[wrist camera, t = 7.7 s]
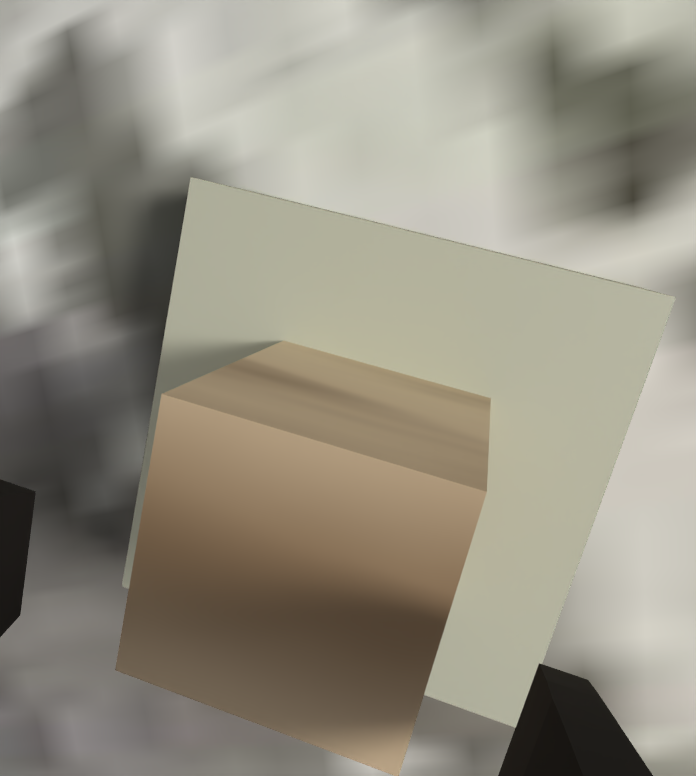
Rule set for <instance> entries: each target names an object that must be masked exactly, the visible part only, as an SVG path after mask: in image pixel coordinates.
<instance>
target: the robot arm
mask: <svg viewBox="0 0 696 776" xmlns="http://www.w3.org/2000/svg"><path fill="white" fill-rule="evenodd" d="M34 500H35V491H32V490H29V489H27V488H24V487H21V486H18V485H15V484H12V483H9V482H6V481H3V480H0V637H1V636H2V635H3V633H4V632H5V631H6V630H7V629H8V628H9V627H10V626H11V625H12V624H13V623H14V621H15V620H16V619H17V618H18V617H19V616H20V612H21V604H22V596H23V588H24V580H25V572H26V564H27V556H28V548H29V540H30V532H31V524H32V516H33V508H34ZM498 776H653V775H652V773H651V772H650V771H649V769H648V768H647V766H646V765H645V763H644V762H643V760H642V759H641V757H640V756H639V754H638V753H637V751H636V750H635V748H634V747H633V745H632V744H631V742H630V741H629V739H628V738H627V736H626V735H625V733H624V732H623V730H622V729H621V727H620V726H619V724H618V723H617V721H616V720H615V718H614V717H613V715H612V714H611V712H610V711H609V709H608V708H607V706H606V705H605V703H604V702H603V700H602V699H601V697H600V696H599V694H598V693H597V691H596V690H595V689H594V687H593V686H592V685H591V683H590V682H589V681H588V680H586V679H584V678H581V677H578V676H575V675H572V674H569V673H566V672H563V671H560V670H557V669H554V668H551V667H548V666H545V665H542V664H540V663H539V665H538V668H537V670H536V673H535V676H534V679H533V681H532V684H531V687H530V690H529V692H528V695H527V698H526V701H525V703H524V706H523V709H522V712H521V714H520V717H519V720H518V723H517V726H516V728H515V731H514V734H513V737H512V739H511V742H510V745H509V748H508V750H507V753H506V756H505V759H504V761H503V764H502V767H501V770H500V772H499V775H498Z"/></svg>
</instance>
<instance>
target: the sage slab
mask: <svg viewBox="0 0 696 776" xmlns="http://www.w3.org/2000/svg"><path fill="white" fill-rule="evenodd" d="M675 298H676V297H672V296H669V295H665V294H662V293H658V292H655V291H651V290H647V289H644V288H640V287H636V286H632V285H628V284H624V283H620V282H615V281H611V280H607V279H603V278H599V277H595V276H591V275H587V274H583V273H579V272H575V271H571V270H567V269H563V268H559V267H555V266H551V265H547V264H543V263H539V262H535V261H531V260H527V259H523V258H519V257H514V256H510V255H506V254H502V253H498V252H494V251H490V250H486V249H482V248H478V247H474V246H470V245H466V244H462V243H458V242H454V241H450V240H446V239H442V238H438V237H434V236H430V235H426V234H422V233H418V232H413V231H409V230H405V229H401V228H397V227H393V226H389V225H385V224H381V223H377V222H373V221H369V220H365V219H361V218H357V217H353V216H349V215H345V214H341V213H337V212H333V211H329V210H325V209H321V208H317V207H312V206H308V205H304V204H300V203H296V202H292V201H288V200H284V199H280V198H276V197H272V196H268V195H264V194H260V193H256V192H252V191H248V190H244V189H240V188H235V187H231V186H227V185H222V184H218V183H214V182H209V181H205V180H200V179H196V178H192V177H191V179H190V185H189V191H188V197H187V203H186V209H185V215H184V221H183V226H182V232H181V238H180V244H179V250H178V256H177V262H176V268H175V274H174V280H173V286H172V292H171V298H170V304H169V310H168V315H167V321H166V327H165V333H164V339H163V345H162V351H161V357H160V363H159V369H158V375H157V381H156V387H155V393H154V398H153V404H152V410H151V416H150V422H149V428H148V434H147V440H146V446H145V452H144V458H143V464H142V470H141V476H140V481H139V487H138V493H137V499H136V505H135V511H134V517H133V523H132V529H131V535H130V541H129V547H128V553H127V559H126V565H125V570H124V576H123V582H122V587H125V588H128V589H129V585H130V579H131V573H132V567H133V561H134V555H135V550H136V544H137V538H138V532H139V526H140V520H141V514H142V508H143V502H144V496H145V490H146V484H147V478H148V472H149V466H150V460H151V454H152V448H153V442H154V436H155V430H156V424H157V418H158V412H159V406H160V400H161V394H162V393H165V392H167V391H169V390H172V389H174V388H176V387H179V386H181V385H183V384H185V383H188V382H190V381H192V380H195V379H197V378H199V377H201V376H204V375H206V374H208V373H211V372H213V371H215V370H217V369H220V368H222V367H224V366H227V365H229V364H231V363H233V362H236V361H238V360H240V359H243V358H245V357H247V356H249V355H252V354H254V353H256V352H259V351H261V350H263V349H265V348H268V347H270V346H272V345H275V344H277V343H279V342H282V341H287V342H291V343H294V344H298V345H302V346H305V347H309V348H312V349H316V350H320V351H323V352H327V353H330V354H334V355H337V356H341V357H345V358H348V359H352V360H355V361H359V362H363V363H366V364H370V365H373V366H377V367H381V368H384V369H388V370H391V371H395V372H399V373H402V374H406V375H409V376H413V377H416V378H420V379H424V380H427V381H431V382H434V383H438V384H442V385H445V386H449V387H452V388H456V389H460V390H463V391H467V392H470V393H474V394H478V395H481V396H485V397H488V398H491V407H490V430H489V454H488V478H487V493H486V496H485V500H484V503H483V506H482V509H481V513H480V516H479V519H478V522H477V525H476V529H475V532H474V535H473V538H472V542H471V545H470V548H469V551H468V554H467V558H466V561H465V564H464V567H463V570H462V574H461V577H460V580H459V583H458V587H457V590H456V593H455V596H454V599H453V603H452V606H451V609H450V612H449V615H448V619H447V622H446V625H445V628H444V632H443V635H442V638H441V641H440V644H439V648H438V651H437V654H436V657H435V661H434V664H433V667H432V670H431V673H430V677H429V680H428V683H427V686H426V689H425V693H424V695H426V696H429V697H432V698H434V699H437V700H440V701H443V702H446V703H448V704H451V705H454V706H457V707H460V708H462V709H465V710H468V711H471V712H473V713H476V714H479V715H482V716H485V717H487V718H490V719H493V720H496V721H499V722H501V723H504V724H507V725H510V726H512V727H515V728H516V726H517V723H518V720H519V717H520V714H521V712H522V709H523V706H524V703H525V701H526V698H527V695H528V692H529V690H530V687H531V684H532V681H533V679H534V676H535V673H536V670H537V668H538V665H539V663H540V664H542V663H543V660H544V657H545V654H546V652H547V649H548V646H549V643H550V641H551V638H552V635H553V632H554V630H555V627H556V624H557V622H558V619H559V616H560V613H561V611H562V608H563V605H564V602H565V600H566V597H567V594H568V591H569V589H570V586H571V583H572V580H573V578H574V575H575V572H576V570H577V567H578V564H579V561H580V559H581V556H582V553H583V550H584V548H585V545H586V542H587V539H588V537H589V534H590V531H591V528H592V526H593V523H594V520H595V517H596V515H597V512H598V509H599V507H600V504H601V501H602V498H603V496H604V493H605V490H606V487H607V485H608V482H609V479H610V476H611V474H612V471H613V468H614V465H615V463H616V460H617V457H618V455H619V452H620V449H621V446H622V444H623V441H624V438H625V435H626V433H627V430H628V427H629V424H630V422H631V419H632V416H633V413H634V411H635V408H636V405H637V402H638V400H639V397H640V394H641V392H642V389H643V386H644V383H645V381H646V378H647V375H648V372H649V370H650V367H651V364H652V361H653V359H654V356H655V353H656V350H657V348H658V345H659V342H660V340H661V337H662V334H663V331H664V329H665V326H666V323H667V320H668V318H669V315H670V312H671V309H672V307H673V304H674V301H675Z"/></svg>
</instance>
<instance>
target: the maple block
mask: <svg viewBox="0 0 696 776" xmlns="http://www.w3.org/2000/svg"><path fill="white" fill-rule="evenodd" d="M490 407H491V398H488V397H485V396H481V395H478V394H474V393H470V392H467V391H463V390H460V389H456V388H452V387H449V386H445V385H442V384H438V383H434V382H431V381H427V380H424V379H420V378H416V377H413V376H409V375H406V374H402V373H399V372H395V371H391V370H388V369H384V368H381V367H377V366H373V365H370V364H366V363H363V362H359V361H355V360H352V359H348V358H345V357H341V356H337V355H334V354H330V353H327V352H323V351H320V350H316V349H312V348H309V347H305V346H302V345H298V344H294V343H291V342H287V341H282V342H279V343H277V344H275V345H272V346H270V347H268V348H265V349H263V350H261V351H259V352H256V353H254V354H252V355H249V356H247V357H245V358H243V359H240V360H238V361H236V362H233V363H231V364H229V365H227V366H224V367H222V368H220V369H217V370H215V371H213V372H211V373H208V374H206V375H204V376H201V377H199V378H197V379H195V380H192V381H190V382H188V383H185V384H183V385H181V386H179V387H176V388H174V389H172V390H169V391H167V392H165V393H162V394H161V400H160V406H159V412H158V418H157V424H156V430H155V436H154V442H153V448H152V454H151V460H150V466H149V472H148V478H147V484H146V490H145V496H144V502H143V508H142V514H141V520H140V526H139V532H138V538H137V544H136V550H135V555H134V561H133V567H132V573H131V579H130V585H129V591H128V597H127V603H126V609H125V615H124V621H123V627H122V633H121V639H120V645H119V651H118V657H117V663H116V669H115V670H116V671H119V672H121V673H124V674H127V675H129V676H132V677H135V678H137V679H140V680H143V681H145V682H148V683H151V684H153V685H156V686H159V687H161V688H164V689H167V690H169V691H172V692H174V693H177V694H180V695H182V696H185V697H188V698H190V699H193V700H196V701H198V702H201V703H204V704H206V705H209V706H212V707H214V708H217V709H219V710H222V711H225V712H227V713H230V714H233V715H235V716H238V717H241V718H243V719H246V720H249V721H251V722H254V723H257V724H259V725H262V726H265V727H267V728H270V729H272V730H275V731H278V732H280V733H283V734H286V735H288V736H291V737H294V738H296V739H299V740H302V741H304V742H307V743H310V744H312V745H315V746H318V747H320V748H323V749H325V750H328V751H331V752H333V753H336V754H339V755H341V756H344V757H347V758H349V759H352V760H355V761H357V762H360V763H363V764H365V765H368V766H371V767H373V768H376V769H378V770H381V771H384V772H386V773H389V774H392V775H394V776H399V773H400V770H401V767H402V763H403V760H404V757H405V754H406V751H407V747H408V744H409V741H410V738H411V735H412V731H413V728H414V725H415V722H416V718H417V715H418V712H419V709H420V706H421V702H422V699H423V696H424V693H425V689H426V686H427V683H428V680H429V677H430V673H431V670H432V667H433V664H434V661H435V657H436V654H437V651H438V648H439V644H440V641H441V638H442V635H443V632H444V628H445V625H446V622H447V619H448V615H449V612H450V609H451V606H452V603H453V599H454V596H455V593H456V590H457V587H458V583H459V580H460V577H461V574H462V570H463V567H464V564H465V561H466V558H467V554H468V551H469V548H470V545H471V542H472V538H473V535H474V532H475V529H476V525H477V522H478V519H479V516H480V513H481V509H482V506H483V503H484V500H485V496H486V493H487V478H488V454H489V430H490Z"/></svg>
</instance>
